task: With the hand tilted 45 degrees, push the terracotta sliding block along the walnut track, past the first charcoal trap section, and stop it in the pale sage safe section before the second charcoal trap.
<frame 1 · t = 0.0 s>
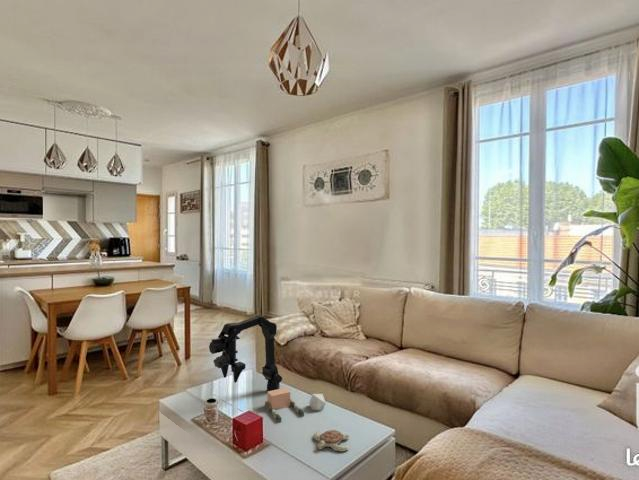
hand: (230, 379, 187), 15 cm above the table, tool pointing down, fingers open, 9 cm apart
decorative turtle: (330, 444, 157), on the table
track: (283, 413, 182), on the table
die: (317, 410, 186), on the table
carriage: (278, 398, 188), point 5 cm above the table, slide at 0.0 cm
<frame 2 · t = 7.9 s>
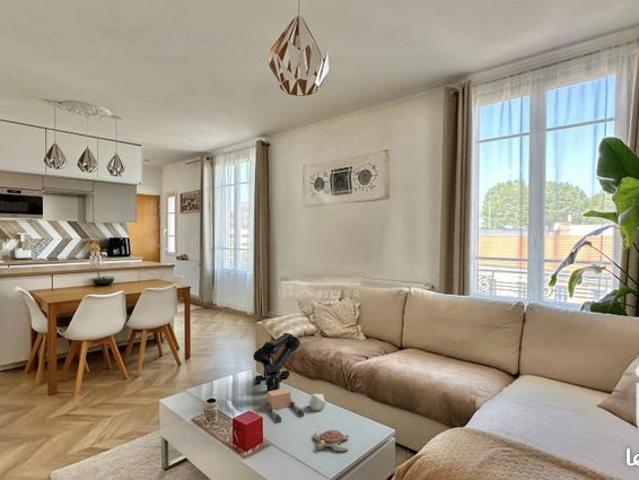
hand: (275, 393, 190), 7 cm above the table, tool tilted 45°, fingers closed
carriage: (278, 398, 188), point 5 cm above the table, slide at 0.2 cm, touching gripper
everything else where it was.
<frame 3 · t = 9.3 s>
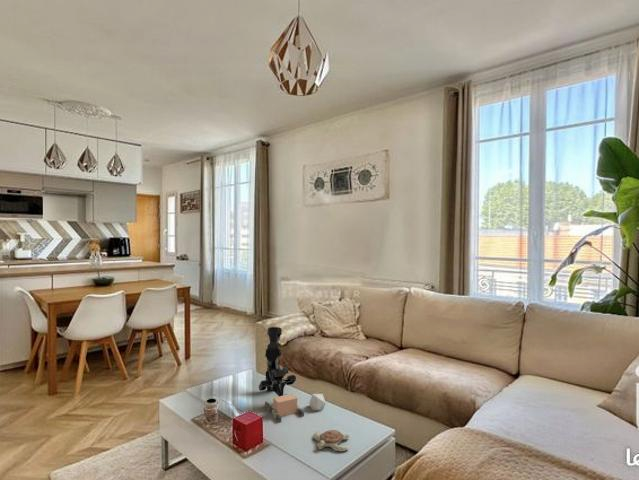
hand: (282, 398, 184), 7 cm above the table, tool tilted 45°, fingers closed, pressing on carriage
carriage: (285, 405, 181), point 5 cm above the table, slide at 8.1 cm, touching gripper
everything else where it was.
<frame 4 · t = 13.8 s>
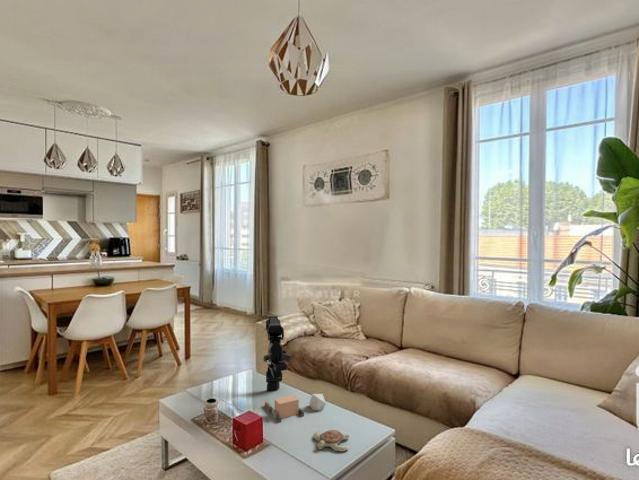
hand: (275, 378, 193), 13 cm above the table, tool pointing down, fingers closed
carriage: (286, 406, 179), point 5 cm above the table, slide at 9.8 cm
everything else where it was.
at the end: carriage slide at 9.8 cm; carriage moved 9.8 cm from its start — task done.
